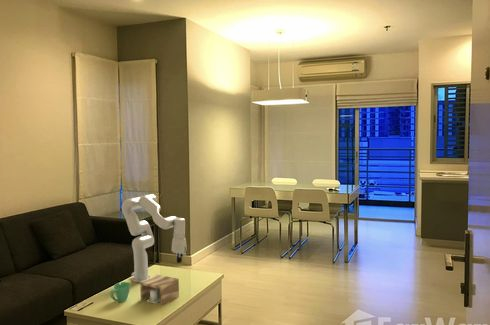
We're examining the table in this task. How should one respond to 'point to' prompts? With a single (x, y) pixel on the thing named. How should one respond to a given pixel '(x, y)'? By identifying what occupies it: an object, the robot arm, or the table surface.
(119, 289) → the mug
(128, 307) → the table surface
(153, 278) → the wooden bridge
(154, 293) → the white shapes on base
